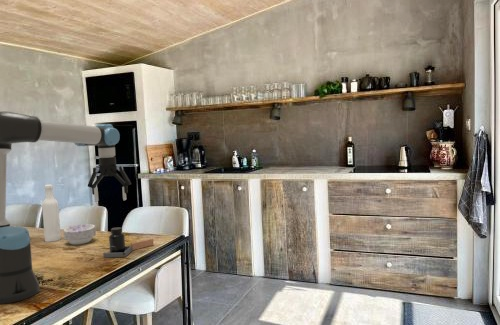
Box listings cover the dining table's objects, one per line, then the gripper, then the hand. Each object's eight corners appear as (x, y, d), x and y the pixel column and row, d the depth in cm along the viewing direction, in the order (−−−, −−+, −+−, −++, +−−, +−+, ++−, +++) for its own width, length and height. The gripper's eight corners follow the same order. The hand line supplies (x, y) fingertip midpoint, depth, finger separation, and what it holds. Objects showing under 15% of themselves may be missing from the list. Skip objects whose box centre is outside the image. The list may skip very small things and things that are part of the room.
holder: (142, 256, 174) (142, 249, 173) (103, 257, 174) (102, 250, 174) (154, 244, 192) (153, 238, 192) (118, 245, 193) (118, 239, 193)
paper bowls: (69, 248, 192) (67, 232, 191) (61, 242, 204) (59, 227, 203) (100, 242, 201) (99, 227, 201) (91, 236, 213) (89, 222, 213)
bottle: (54, 242, 204) (49, 185, 202) (41, 242, 206) (36, 186, 204) (64, 238, 212) (60, 183, 210) (51, 237, 214) (47, 183, 211)
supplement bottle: (109, 257, 175) (107, 230, 174) (110, 252, 182) (108, 227, 181) (125, 255, 177) (123, 229, 176) (125, 250, 184) (124, 226, 183)
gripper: (135, 155, 189) (138, 198, 191) (84, 157, 189) (88, 200, 191) (130, 156, 181) (134, 200, 183) (77, 158, 182) (81, 203, 183)
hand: (110, 200), depth 187 cm, fingers open, 13 cm apart
